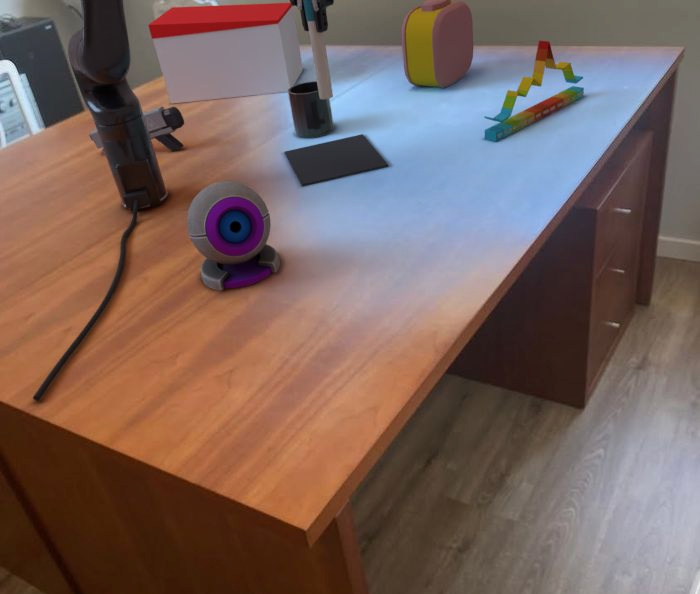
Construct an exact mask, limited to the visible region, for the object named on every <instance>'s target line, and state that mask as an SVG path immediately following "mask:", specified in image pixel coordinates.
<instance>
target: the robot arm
mask: <svg viewBox="0 0 700 594" xmlns="http://www.w3.org/2000/svg"><path fill="white" fill-rule="evenodd" d="M334 2H335V0H320V2H319V3H318V0H312V4H313V8H314V10H315V11H314V17H315V24H316V30H317V32H319V33H322V32H327V31H328V28H329V22H328V14H327V8H328V7H330V6H332V5H334ZM289 3H291V5H292V7H296V8H297V9H298V10H299V11H300V12H299V13H300V19H301V24H302V27H303V30H304V31H305V32H309V28H308V22H307V20H306V14H305V8H304V2H303V0H289ZM80 5H81V6H80V7H81V21H82V22H81V26H82V27H81V28H79V29H77V30H75V32H73V34H72V35H71V37H70V38H69V41H68V45H67V56H68V61H69V65H70V68H71V71H72V73H73V76H74V78H75V81H76V84H77V86H78V89H79V92H80V95H81V97H82V99H83V102H84V105H85V106H86V108H87V110H88V111H89V113H90V114H91V117H92V119H93V122H94V125H95V127H96V129H97V131H98V134H99V137H100V140H101V143H102V146H103V147H102V149H103V148H104V151H105V154H104V155H105V157H106V160H107V162H108V166H109V168H110V172H111V175H112V177H113V180H114V183H115V186H116V189H117V192H118V195H119V198H120V201H121V205H122V207H123V208H124V209H127V210H129V211H130V212H132V218H131V222H130V224H129V226H128V228H127V229H126V230H125V231H124V232H123V234H122V236H121V240H120V248H119V249H120V252H119V253H120V254H119V259H118V265H117V268H116V272H115V275H114V278H113V280H112V282H111V285H110V287H109V289H108V291H107V293H106V295H105V296H104V298H103V300H102V301H101V303H100V305H99V306H98V308H97V309H96V311H95V312H94V314H93V315H92V317H91V318H90V319H89V321H88V322H87V324H86V325H85V326H84V327H83V328H82V330H81V332H79V334H78V335H77V337H76V338H75V340H74V341H73V342H72V343H71V345H70V346H69V347H68V348H67V350H66V351H65V352H64V353H63V354H62V356H61V357H60V359H59V360H58V361H57V362H56V364H55V366H54V367H53V368H52V370H51V371H50V372H49V374H48V375H47V377H46V378H45V379H44V381H43V382H42V383H41V384H40V386H39V387H38V389H37V391H36V392H35V393H34V394H33V396H32V399H33V400H34V401H37V402H38V401H40V400H41V398H42V397H43V396H44V394H45V392H46V391H47V389H48V388H49V386H50V385H51V384H52V382H53V381H54V379H55V378H56V377H57V375H58V373H60V371H61V369H62V368H63V367H64V365H65V364H66V363H67V361H68V360H69V359H70V357H71V356H72V355H73V353H74V352H75V351H76V350H77V348H78V347H79V345H80V344H82V341H83V340H84V339H85V337H86V336H88V333H89V332H90V331H91V329H92V328H93V327H94V325H95V324H96V322H97V321H98V320H99V318H100V316H102V314H103V312H104V310H105V309H106V307H107V306H108V304H109V302H111V301H110V300H111V299H112V297H113V295H114V293H115V291H116V289H117V287H118V284H119V281H120V279H121V275H122V273H123V270H124V269H123V268H124V264H125V260H126V259H125V258H126V242H127V239H128V237H129V235H130V234H131V233H132V231H133V229H134V228H135V226H136V224H137V220H138V213H139V212H138V211H140V210H144V209H150V208H154V207H157V206H161V205H162V203H163V202H164V201H165V200H167V198H168V197H169V192H168V189H167V188H166V184H165V181H164V177H163V175H162V171H161V168H160V164H159V162H158V158H157V155H156V152H155V149H154V144H153V141H152V139H151V138H150V135H149V132H148V128H147V125H146V121H145V118H144V115H143V113H144V111H143V109H142V108H143V107H142V105H141V102H140V99H139V97H138V96H137V95H136V93H135V92H134V91H133V89H132V88H131V86H130V83H129V82H128V79H127V76H128V73H129V72H130V69H131V62H132V56H131V54H132V53H131V47H130V39H129V33H128V28H127V21H126V15H125V14H126V13H125V7H124V0H80Z"/></svg>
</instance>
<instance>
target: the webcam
mask: <svg viewBox="0 0 700 594" xmlns="http://www.w3.org/2000/svg"><path fill="white" fill-rule="evenodd" d="M187 211H188V212H187V216H186V227H187V234H188V237H189V239H190V241H191V243H192V244H193V246H194V247H195V248H196V250H197V251H198V252H199V253H200V254H201V255H202V256H203V257H205V259H204V260H203V262H202V263H201V265H200V276H201V279H202V282H203V284H204V285H205V286H206V287H208V288H210V289H212V290H217V291H223V290H224V289H236V288H242V287H243V288H244V287H247V286H250V285H253V284H256V283H259V282H260V281H263V280H264V279H266V278H267V277H268V276H270V275H271V273H277V272H278V271H279V269H280V266H281V260H280V257H279V254H278V251H277V250H276V249H275V248H274V247H273V246H271V245H270V244H268V243H267V242H268V240H269V236H270V235H271V234H270V233H271V225H272V224H271V215H270V213H269V209H268V206H267V204H266V203H265V201H264V199H263V198H262V196H261V195H259V193H258V192H257V191H255V189H253V188H251V187H250V186H248V185H246V184H244V183H241V182H237V181H234V180H233V181H231V180H224V181H217V182H214V183H211V184H209V185H208V186H205V187H204V188H202V189H201V190H200V191H199V192H198V193H197V194H196V195H195V196H194V198H193V200H191V202H190V205H189V207H188V210H187Z"/></svg>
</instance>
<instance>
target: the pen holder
mask: <svg viewBox="0 0 700 594" xmlns="http://www.w3.org/2000/svg"><path fill="white" fill-rule="evenodd" d="M287 94H288V101H289V107H290V111H291V118H292V123H293V128H294V132H295V136H296V137H298V138H301V139H314V138H321V137H323V136H326V135H328V134H330V133H332V132H333V131H334V129H335V127H334V119H333V113H332V105H331V100H330V99H331V98H329V99H320V98H319V91H318V85H317V80H315V81H313V80H312V81H305V82H301V83H296V84H294V86H292V87H291V88H289V89H288V92H287Z"/></svg>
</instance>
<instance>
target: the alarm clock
mask: <svg viewBox="0 0 700 594" xmlns="http://www.w3.org/2000/svg"><path fill="white" fill-rule="evenodd" d="M472 15H473V14H472V12H471V8H470V7H469V5H468V4H467V3H466V2H465V1H463V0H457V1H452V0H426V1H424V2H423V3H422V4H420V5H418V6H416V7H414V8H412V9H411V10H410V11H408V12H407V14H406V15H405V17H404V19H403V21H402V25H401V32H400V33H401V39H400V40H401V51H402V62H403V70H404V76H405V78H406V79H407V81H408V83H409V84H411V85H412V86H415V87H417V86H418V87H419V86H424V87H425V86H427V87H440V88H442V89H444V88H448V87H450V86H452V85H453V84H455V83H456V82H458V81H459V80H461V79H462V78H464V77H465V76H466V75H467V73H469V72H470V71H469V70H470V68H471V66H472V63H473V58H474V31H473V30H474V27H473V26H474V25H473V16H472Z"/></svg>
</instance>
